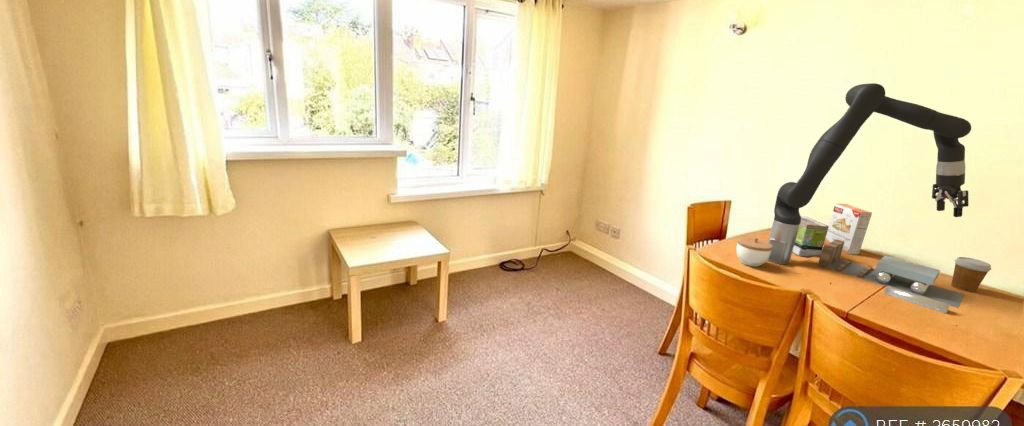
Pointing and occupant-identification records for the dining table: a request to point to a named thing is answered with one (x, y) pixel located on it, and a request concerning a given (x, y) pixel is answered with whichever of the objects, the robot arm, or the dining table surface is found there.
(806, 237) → the tea box
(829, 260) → the wooden stops
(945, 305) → the roller
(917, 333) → the dining table surface
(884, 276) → the bed rollers
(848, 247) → the cracker box
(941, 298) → the mat
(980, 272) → the disposable coffee cup
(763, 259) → the lidded bowl
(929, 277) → the slab
